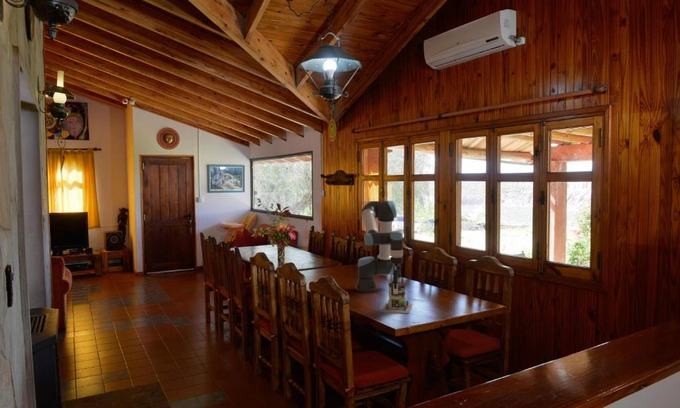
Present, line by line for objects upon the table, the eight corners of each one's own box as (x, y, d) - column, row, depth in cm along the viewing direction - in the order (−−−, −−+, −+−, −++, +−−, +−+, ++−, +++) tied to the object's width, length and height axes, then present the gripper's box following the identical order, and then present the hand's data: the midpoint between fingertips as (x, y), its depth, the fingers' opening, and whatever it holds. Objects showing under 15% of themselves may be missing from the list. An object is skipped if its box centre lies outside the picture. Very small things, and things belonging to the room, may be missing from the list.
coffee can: (409, 307, 303) (409, 284, 302) (396, 310, 297) (396, 286, 296) (397, 303, 311) (397, 281, 310) (385, 306, 305) (384, 283, 304)
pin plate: (386, 305, 314) (386, 299, 313) (411, 306, 310) (411, 300, 310) (382, 312, 298) (382, 305, 298) (409, 313, 294) (409, 306, 294)
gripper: (393, 253, 315) (393, 286, 317) (387, 260, 291) (388, 295, 292) (405, 253, 313) (405, 286, 315) (400, 260, 289) (400, 296, 291)
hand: (397, 291), depth 304 cm, fingers open, 13 cm apart
